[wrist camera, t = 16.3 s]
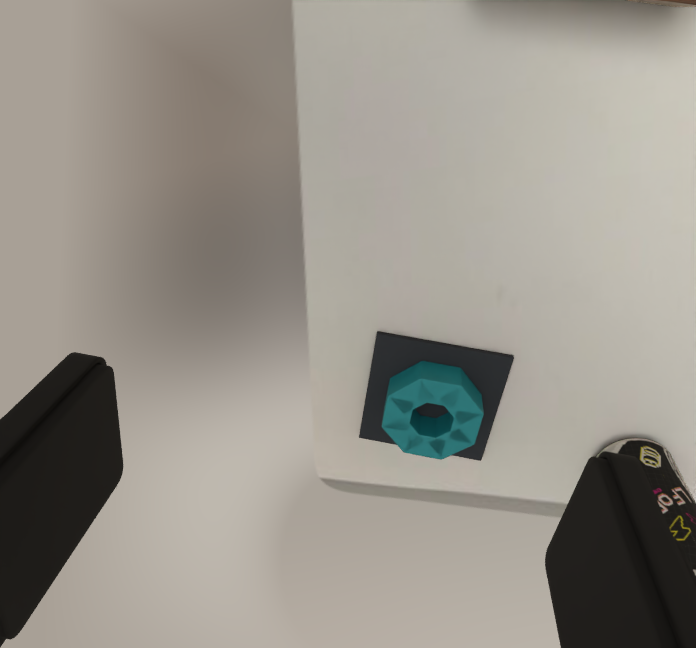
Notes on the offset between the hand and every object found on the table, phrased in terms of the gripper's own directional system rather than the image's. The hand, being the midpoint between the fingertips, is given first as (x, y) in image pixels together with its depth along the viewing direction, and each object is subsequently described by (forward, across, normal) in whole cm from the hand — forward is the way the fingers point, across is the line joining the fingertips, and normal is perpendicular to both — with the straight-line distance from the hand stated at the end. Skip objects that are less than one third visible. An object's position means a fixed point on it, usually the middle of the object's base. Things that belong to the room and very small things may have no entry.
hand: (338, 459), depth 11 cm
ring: (+27, -5, +18) cm, 33 cm away
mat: (+28, -5, +18) cm, 33 cm away
